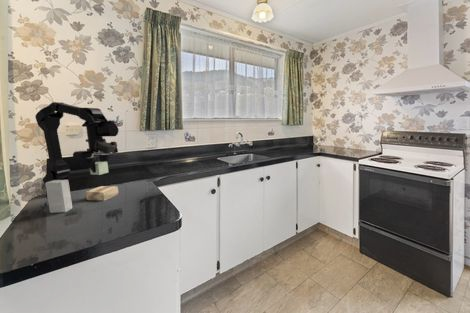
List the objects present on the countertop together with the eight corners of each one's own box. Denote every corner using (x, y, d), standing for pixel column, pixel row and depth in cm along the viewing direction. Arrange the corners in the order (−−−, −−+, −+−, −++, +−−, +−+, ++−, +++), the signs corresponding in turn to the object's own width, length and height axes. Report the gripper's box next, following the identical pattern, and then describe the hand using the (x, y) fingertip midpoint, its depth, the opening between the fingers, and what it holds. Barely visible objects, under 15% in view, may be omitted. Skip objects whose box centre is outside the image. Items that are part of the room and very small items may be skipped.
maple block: (86, 200, 101) (85, 191, 101) (102, 194, 110) (101, 186, 110) (104, 201, 100) (103, 192, 99) (118, 194, 108) (117, 186, 108)
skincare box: (73, 208, 91) (68, 179, 89) (65, 212, 87) (61, 182, 85) (57, 208, 91) (53, 179, 89) (49, 213, 87) (44, 182, 85)
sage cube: (90, 174, 101) (89, 163, 100) (99, 172, 106) (98, 161, 105) (99, 174, 100) (98, 163, 99) (108, 172, 105) (107, 161, 104)
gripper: (91, 138, 89) (95, 176, 92) (125, 135, 107) (128, 167, 109) (69, 138, 92) (74, 175, 95) (106, 135, 110) (110, 167, 112)
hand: (99, 171), depth 103 cm, fingers closed on sage cube, 5 cm apart
